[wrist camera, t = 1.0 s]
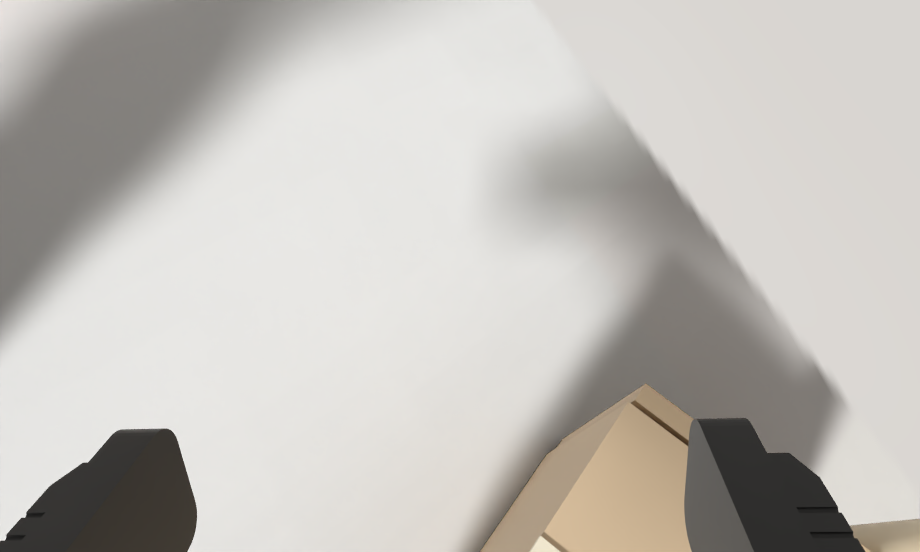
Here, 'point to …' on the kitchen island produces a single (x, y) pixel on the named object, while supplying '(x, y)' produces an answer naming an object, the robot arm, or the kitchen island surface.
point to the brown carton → (603, 493)
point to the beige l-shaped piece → (886, 544)
